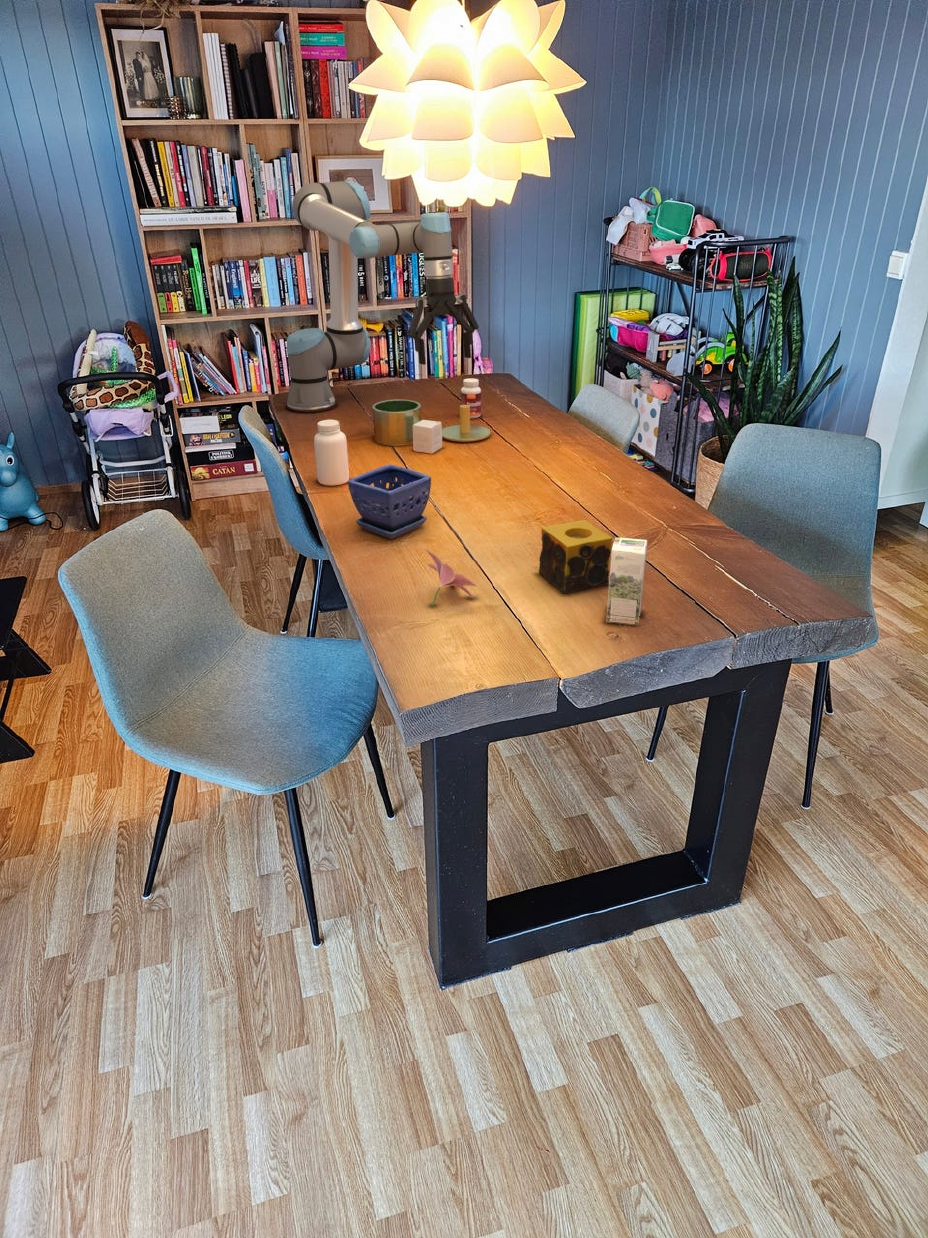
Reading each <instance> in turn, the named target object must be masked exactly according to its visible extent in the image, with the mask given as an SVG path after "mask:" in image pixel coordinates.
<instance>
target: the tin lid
mask: <svg viewBox="0 0 928 1238" xmlns="http://www.w3.org/2000/svg"><path fill="white" fill-rule="evenodd" d="M458 407H459V408H458V409H459V412H458V413H459V424H455V425H449V426H446V427H444V428H443V427H442V439H444V440H447V441H452V442H464V443H467V442H468V443H469V442H477V441H482V440H484V439H487V438H489V437H490V436H491V429H489V427H485V426H482V425H476V424H471V418H470V406H469V405H461V404H460V405H459V406H458Z"/></svg>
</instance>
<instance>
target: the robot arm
mask: <svg viewBox="0 0 928 1238" xmlns="http://www.w3.org/2000/svg"><path fill="white" fill-rule="evenodd" d="M291 211H292V214H293V217H294V219H295V220H296V221H297V223H298V224H299V225H301V226H302V227H303V228H306V229H307V230H309V231H312V232H317V231H319V232H321V233H323V234H325V235H326V236H327V238H328V266H329V267H328V269H329V271H328V273H329V301H330V302H329V303H330V307H329V309H330V318H329V320H328V321H327V322H326V323H325V331H324V330H323V329H322V328H319V327H311V328H303V329H299V330H296V331H293V332H291V333H290V334H289V335H288V336H287V337H286V354H287V361H288V362H287V363H288V369H289V370H288V371H289V378H290V379H289V380H290V385H289V390H288V396H287V400H286V401H287V402H286V405H287V410H289V411H293V412H296V413H319V412H326V411H329V410H331V409H333V408H335V407H336V405H337V404H336V399H335V395H334V393H333V391H332V385H331V384H330V383H331V382H332V381H333V382H336V381H337V380H336V379H335V377H330V378H328V371H333V370H339V369H346V368H354V367H357V366H360V365H363V364H364V363H365V362H367V360H368V359H369V357H370V355H371V348H372V343H371V342H372V341H371V337H370V334H369V332H368V330H367V329H366V328H365V327H364V324H363V322H362V321H361V320H360V319H359V271H358V270H359V268H358V263H359V262H358V259H368V260H369V259H373V258H374V259H375V258H382V257H392V256H402V255H413V254H423V267H424V268H423V269H424V270H423V271H424V277H425V278H426V279H425V281H424V282H425V294H426V298H425V299H422V298H421V299H420V298H417V299H415V309H414V311H413V314H412V318H411V321H410V324H409V327H408V329H407V333H406V336H407V337H408V338H412V339H413V341H414V350H415V352H416V353H418V364H419V365H423V366H424V365H426V364H427V362H426V361H427V359H426V350H425V348H426V347H425V339H424V338H422V337H423V335H424V334H425V332H426V331H427V328H428V327H429V326H430V323H431V322H432V320H433V319H434V318H435V317H436V316H443V315H451V316H452V318H453V319H454V320H455V321H456V322H457V324H459V325H460V327H461V328H462V329H463V330H464V331H465V332H462V342H463V344H462V345H463V358H464V359H465V358H466V359H471V358H472V351H471V349H472V348H471V345H473V344H474V339H473V337H474V335H473V334H474V333H475V331H476V330H478V329H479V326H480V325H479V324H478V322H477V320H476V318H475V316H474V313H472V310H471V308H470V306H469V304H468V300H467V296H466V295H465V294H462V293H461V294H460V293H459V294H458V295H455V294H456V293H455V291H456V289H455V278H454V277H452V276H453V275H454V261H453V243H452V242H453V241H452V227H451V222H450V220H451V219H450V215H449V213H448V212H445V211H443V212H430V213H429V212H428V213H422V214H421V215H420V221H419V222H418V221H417V222H412V221H409V222H403V223H401V222H400V223H392V224H391V223H390V224H374V223H372V222H370V221H369V219H370V218H371V204H370V200H369V197H368V195H367V193H366V190H365V189H364V187H363V186H362V185H361V184H360V183H358V182H355V181H346V180H340V181H327V182H326V181H325V182H311V183H307V184H305V185H303V186H301V187H300V188H299V189H298V190H297V191H296V192H295V194H294V197H293V198H292V202H291ZM456 303H457V304H459V307H460V309H461V311H462V313H463V315H464V316H465V317H463V316H462V315H461V313H460V312H459V310H458V309H457V308H456V306H455V305H456ZM426 306H427V307H428V309H427V310H426V312H425V315H424V317H423V318H422V315H423V311H424V309H425V307H426ZM421 318H422V320H421ZM420 321H421V322H420Z"/></svg>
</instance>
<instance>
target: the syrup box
mask: <svg viewBox="0 0 928 1238" xmlns="http://www.w3.org/2000/svg"><path fill="white" fill-rule="evenodd" d="M612 543H613V544H612V546H611V554H610V566H609V578H608V591H607V592H608V593H607V594H608V595H607V606H606V607H607V608H606V619H605V620H606V621H605V622H606V623H607V624H608V623H609V624H616V625H617V624H618V625H626V626H635V627H636V626H639V622H640V617H639V616H641V611H642V597H643V588H644V587H643V586H644V578H645V568H646V561H647V552H648V551H647V550H648V540H647V539H639V538H638V539H637V538H631V537H630V538H629V537H619V536H618V537H617V536H615V537H614V540H613V542H612ZM609 618H611V619H609ZM617 619H628V620H639V621H638V622H635V621H626V620H617Z"/></svg>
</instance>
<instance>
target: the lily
mask: <svg viewBox="0 0 928 1238" xmlns="http://www.w3.org/2000/svg"><path fill="white" fill-rule="evenodd" d="M424 551H425V552H426V553H427V554H428V555H429V556H430V557H431V558H432V560H433V562H434V564H432V563H427V564H426V566H427V567H429V568H430V569H433V570H434V571H436V572H437V573H438V577H439V583H440V584H439V586H438V589H437V590H436V592H435V595H434V597H433V601H432V606H433V607H434V605H435V602H436V599H437V597H438V594H439V592H440V590H441V588H442V587H444V586H450V587H457V588H459V589H461V590H462V591H463V592H464V593H466V594H467V595H468V596H469V597H471V598H472V599H474V597H473V595H472V593H471V592H470V590H468V589H467V588H466V586H469V587H476V588H477V587H478V586H477V585H476V584H475V583H474V581H472V580H470V579H469V578H467V576H465V575H463V574H461V573H458V572H455V571H456V569H454V567H451V565H449V564H448V563H444V562H443V561H442V560H441V558H439V557H438V556H437V555H435V553H433V552H431V551H430V550H428V549H427V548H424Z"/></svg>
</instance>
